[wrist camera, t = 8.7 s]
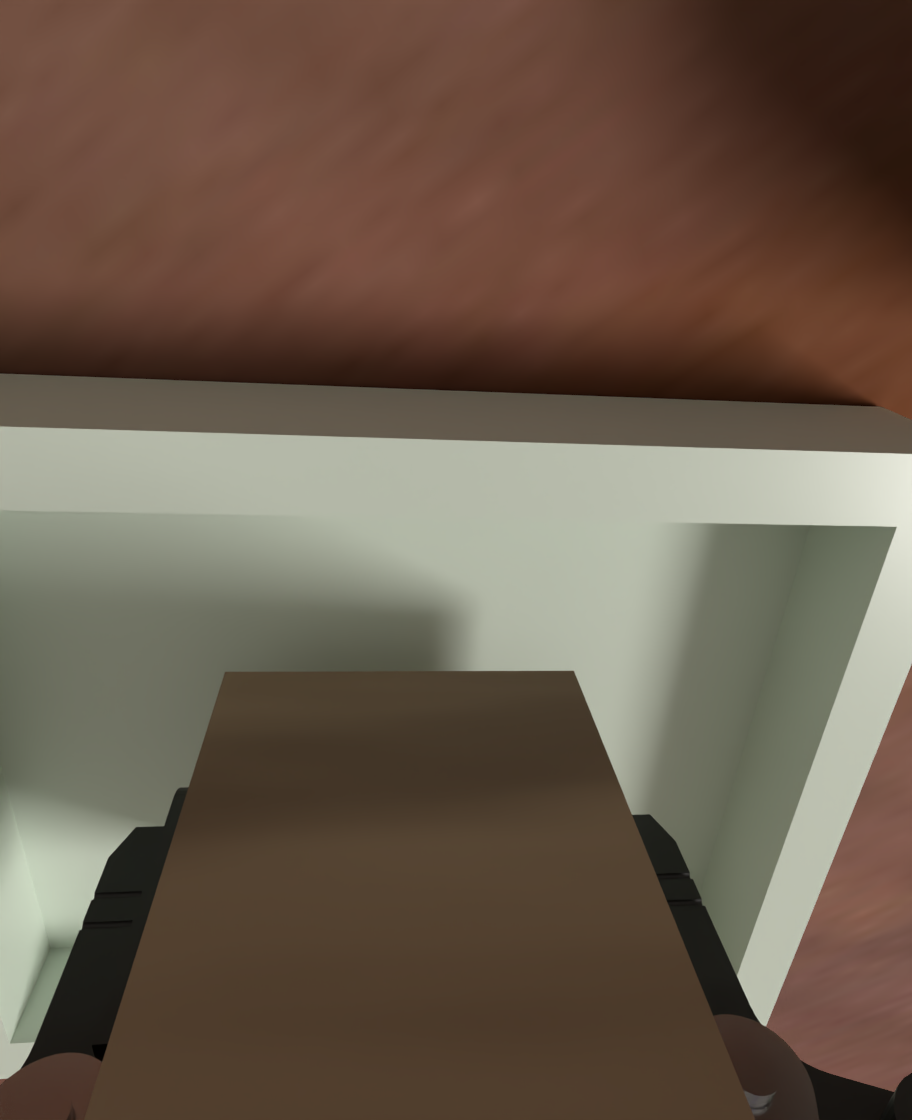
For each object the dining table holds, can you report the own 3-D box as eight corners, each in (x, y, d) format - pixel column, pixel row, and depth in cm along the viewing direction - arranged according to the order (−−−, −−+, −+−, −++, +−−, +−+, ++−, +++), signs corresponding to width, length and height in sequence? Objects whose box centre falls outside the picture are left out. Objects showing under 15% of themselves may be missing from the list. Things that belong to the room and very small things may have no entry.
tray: (-161, 367, 10) (-308, 416, 8) (881, 406, 12) (995, 456, 9) (20, 955, 15) (-39, 1081, 13) (714, 924, 17) (763, 1031, 15)
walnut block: (225, 672, 10) (61, 1186, 5) (574, 670, 11) (761, 1132, 6) (247, 914, 13) (151, 1450, 7) (536, 903, 13) (643, 1393, 8)
